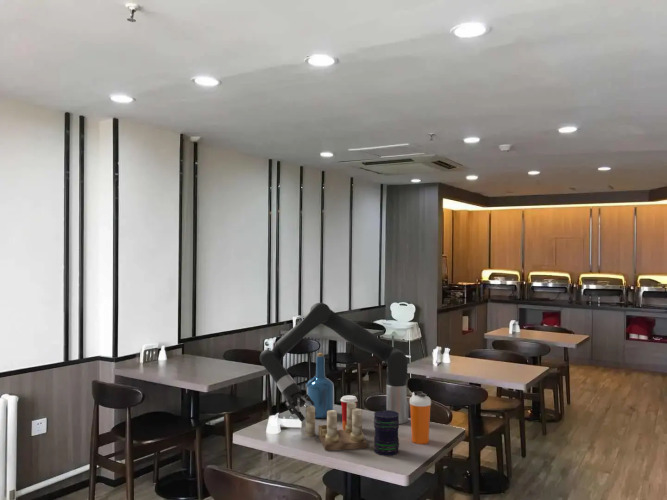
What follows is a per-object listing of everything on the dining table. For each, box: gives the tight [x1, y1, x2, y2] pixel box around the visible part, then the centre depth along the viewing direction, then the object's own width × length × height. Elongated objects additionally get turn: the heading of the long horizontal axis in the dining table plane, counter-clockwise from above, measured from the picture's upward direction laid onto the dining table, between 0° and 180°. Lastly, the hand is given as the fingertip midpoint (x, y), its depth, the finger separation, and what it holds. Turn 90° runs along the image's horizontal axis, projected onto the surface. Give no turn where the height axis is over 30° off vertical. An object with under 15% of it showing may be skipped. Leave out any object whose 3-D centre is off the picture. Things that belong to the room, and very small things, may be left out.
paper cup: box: [339, 395, 359, 430], centre depth 246 cm, size 8×8×14 cm
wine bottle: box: [305, 352, 335, 419], centre depth 268 cm, size 14×13×30 cm
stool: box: [318, 402, 368, 452], centre depth 228 cm, size 17×17×14 cm
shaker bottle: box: [408, 391, 432, 445], centre depth 230 cm, size 9×9×20 cm
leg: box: [305, 406, 316, 438], centre depth 237 cm, size 4×4×12 cm
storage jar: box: [373, 403, 400, 457], centre depth 217 cm, size 10×10×18 cm
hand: (309, 417), depth 238 cm, fingers open, 8 cm apart
